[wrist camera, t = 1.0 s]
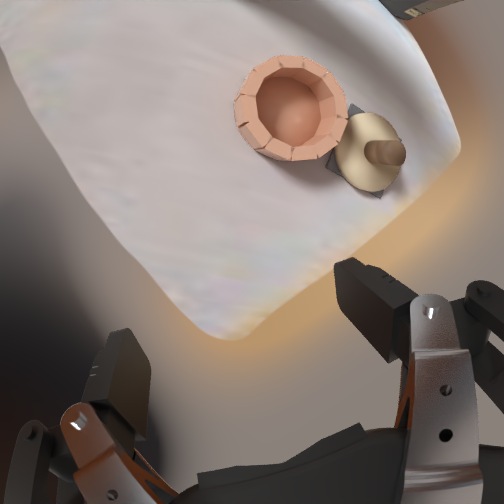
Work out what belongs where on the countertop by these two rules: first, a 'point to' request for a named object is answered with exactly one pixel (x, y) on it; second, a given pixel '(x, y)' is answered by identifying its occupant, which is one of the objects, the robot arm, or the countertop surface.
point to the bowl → (291, 109)
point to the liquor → (414, 7)
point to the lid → (369, 152)
